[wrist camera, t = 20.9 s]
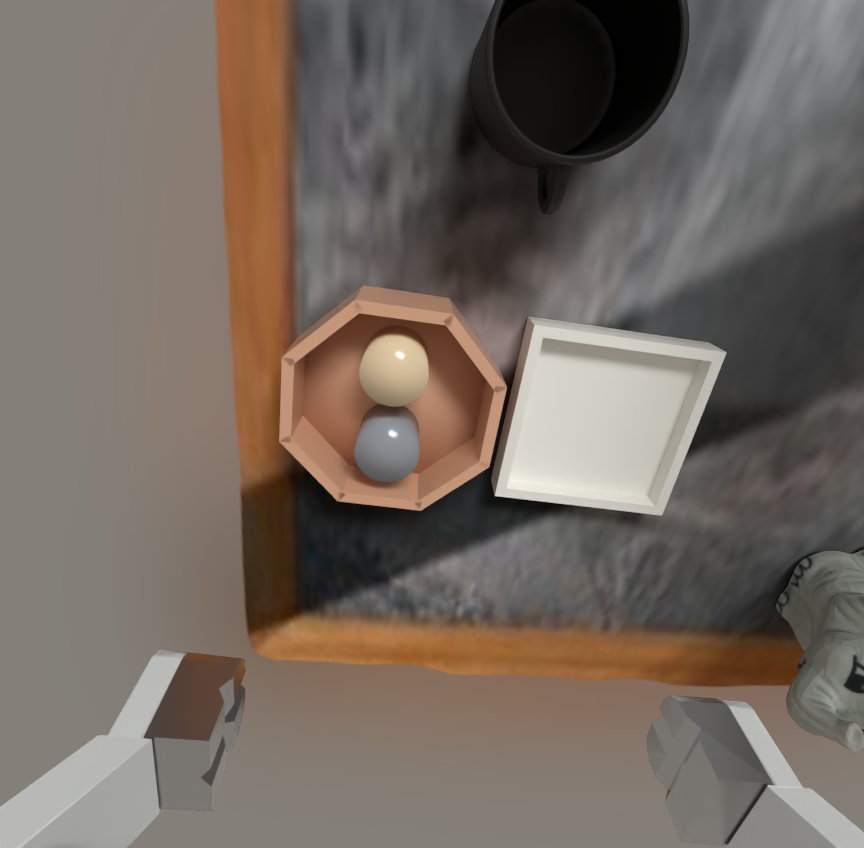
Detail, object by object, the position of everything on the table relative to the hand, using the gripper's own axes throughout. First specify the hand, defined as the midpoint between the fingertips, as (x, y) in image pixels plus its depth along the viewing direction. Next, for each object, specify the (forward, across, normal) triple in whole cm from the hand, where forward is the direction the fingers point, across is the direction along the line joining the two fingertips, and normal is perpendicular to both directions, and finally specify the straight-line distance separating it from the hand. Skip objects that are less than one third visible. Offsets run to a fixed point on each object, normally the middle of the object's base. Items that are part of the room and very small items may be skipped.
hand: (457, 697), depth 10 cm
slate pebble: (+30, +2, +9) cm, 31 cm away
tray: (+31, -14, +6) cm, 35 cm away
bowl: (+31, +2, +6) cm, 32 cm away
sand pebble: (+30, +2, +3) cm, 30 cm away
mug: (+31, -5, -14) cm, 35 cm away
